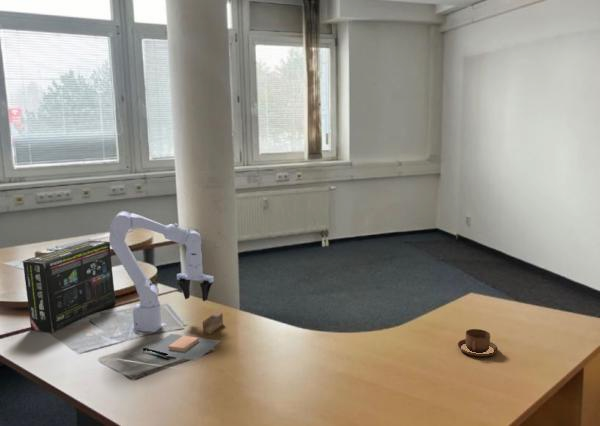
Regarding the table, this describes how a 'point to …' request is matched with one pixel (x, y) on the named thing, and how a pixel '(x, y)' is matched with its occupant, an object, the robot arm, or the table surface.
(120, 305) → the table surface
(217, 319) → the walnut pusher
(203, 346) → the mat
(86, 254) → the router box
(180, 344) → the tile
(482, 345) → the cup and saucer
